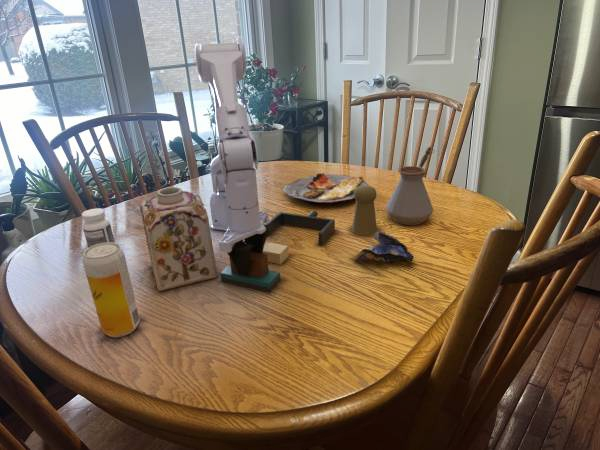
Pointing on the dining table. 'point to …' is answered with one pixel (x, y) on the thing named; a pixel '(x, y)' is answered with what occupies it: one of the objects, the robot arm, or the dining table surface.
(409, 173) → the coffee pot
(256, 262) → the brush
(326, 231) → the dark grey u-shaped frame
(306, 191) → the food plate
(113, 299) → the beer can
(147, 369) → the dining table surface
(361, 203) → the olive pepper shaker
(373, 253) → the snack package
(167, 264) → the decorative jar
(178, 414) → the dining table surface
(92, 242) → the pill bottle
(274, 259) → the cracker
